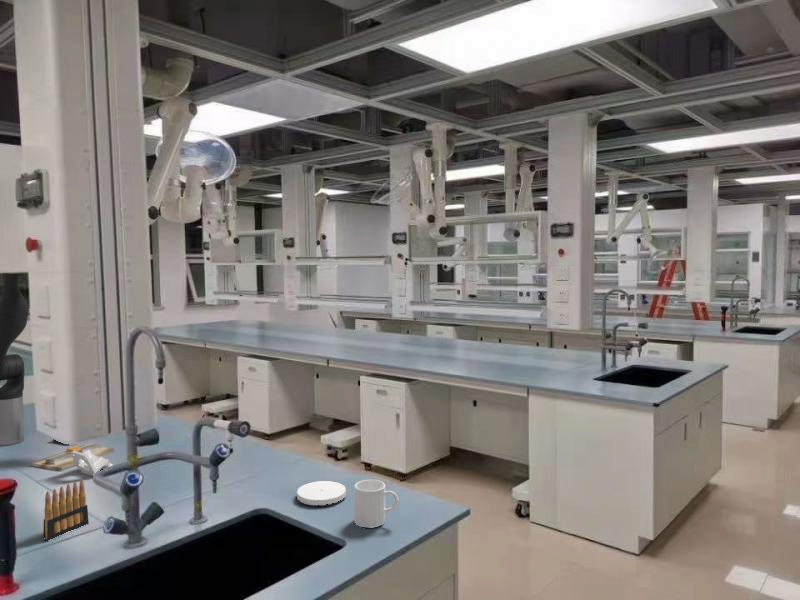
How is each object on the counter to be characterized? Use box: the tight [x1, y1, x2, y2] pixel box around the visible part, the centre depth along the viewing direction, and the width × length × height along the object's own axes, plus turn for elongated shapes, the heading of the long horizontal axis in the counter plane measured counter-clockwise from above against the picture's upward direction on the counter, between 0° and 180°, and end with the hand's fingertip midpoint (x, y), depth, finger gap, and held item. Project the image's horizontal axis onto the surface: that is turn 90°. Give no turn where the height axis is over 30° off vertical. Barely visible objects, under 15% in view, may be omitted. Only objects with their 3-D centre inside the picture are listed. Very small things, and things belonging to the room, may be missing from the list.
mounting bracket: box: [71, 449, 114, 477], centre depth 183 cm, size 12×6×11 cm, turn 59°
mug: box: [353, 479, 400, 527], centre depth 147 cm, size 8×12×10 cm
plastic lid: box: [296, 480, 347, 506], centre depth 163 cm, size 14×14×2 cm
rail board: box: [30, 442, 115, 471], centre depth 197 cm, size 14×21×2 cm, turn 161°
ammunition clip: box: [43, 478, 90, 541], centre depth 142 cm, size 11×2×12 cm, turn 154°
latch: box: [65, 445, 81, 452], centre depth 197 cm, size 3×3×1 cm
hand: (72, 412), depth 196 cm, fingers closed on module, 5 cm apart
